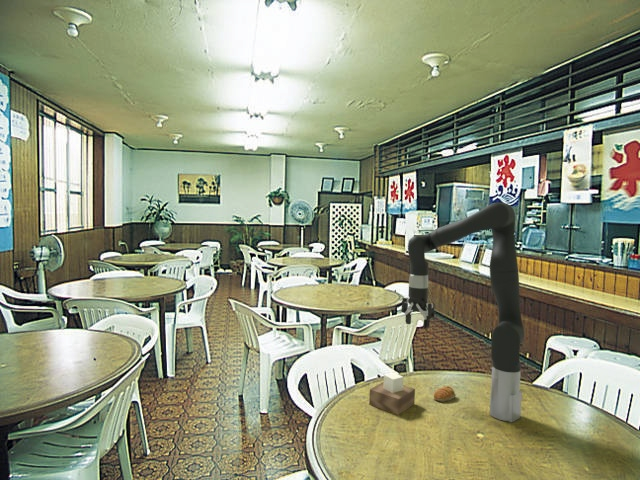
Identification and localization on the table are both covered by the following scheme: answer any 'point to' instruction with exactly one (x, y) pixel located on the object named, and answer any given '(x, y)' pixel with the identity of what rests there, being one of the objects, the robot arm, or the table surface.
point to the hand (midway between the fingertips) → (417, 326)
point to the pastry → (444, 394)
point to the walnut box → (392, 399)
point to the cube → (393, 382)
